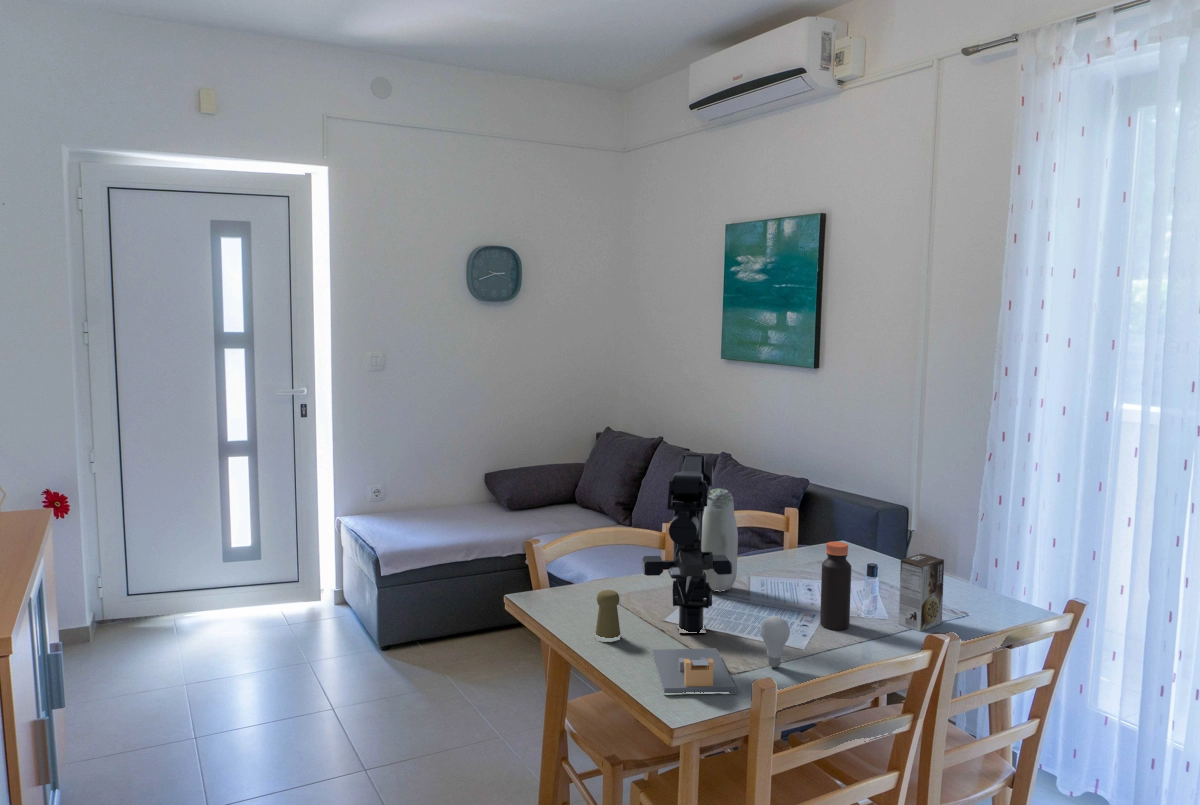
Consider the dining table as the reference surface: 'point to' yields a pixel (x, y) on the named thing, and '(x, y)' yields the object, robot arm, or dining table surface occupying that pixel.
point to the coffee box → (921, 592)
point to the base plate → (678, 677)
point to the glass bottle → (720, 536)
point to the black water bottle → (835, 587)
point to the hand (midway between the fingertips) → (685, 603)
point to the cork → (608, 614)
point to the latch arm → (699, 662)
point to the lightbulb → (774, 638)
